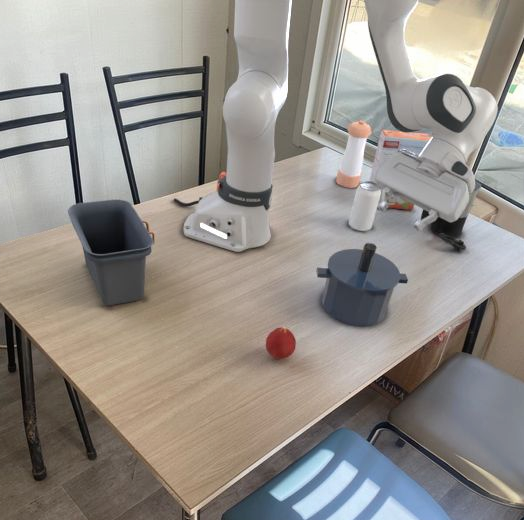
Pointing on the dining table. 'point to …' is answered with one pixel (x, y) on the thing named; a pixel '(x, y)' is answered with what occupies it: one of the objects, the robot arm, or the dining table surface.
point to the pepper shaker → (353, 155)
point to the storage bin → (113, 248)
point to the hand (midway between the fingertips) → (398, 219)
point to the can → (365, 206)
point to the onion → (280, 343)
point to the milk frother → (453, 223)
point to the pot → (354, 301)
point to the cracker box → (400, 141)
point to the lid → (364, 269)
